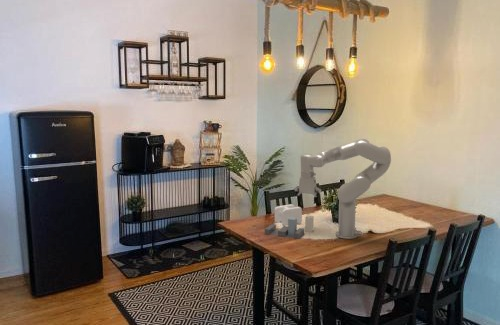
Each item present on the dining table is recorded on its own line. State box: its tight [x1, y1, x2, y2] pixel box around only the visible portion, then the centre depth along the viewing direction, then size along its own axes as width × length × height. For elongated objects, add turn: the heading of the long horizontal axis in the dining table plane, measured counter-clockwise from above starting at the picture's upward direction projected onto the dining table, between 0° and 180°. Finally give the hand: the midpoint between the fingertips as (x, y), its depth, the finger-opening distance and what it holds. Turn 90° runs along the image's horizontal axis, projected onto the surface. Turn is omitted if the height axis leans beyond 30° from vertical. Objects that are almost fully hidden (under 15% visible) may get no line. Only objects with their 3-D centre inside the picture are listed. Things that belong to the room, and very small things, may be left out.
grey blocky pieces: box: [263, 224, 306, 240], centre depth 235 cm, size 23×10×4 cm, turn 64°
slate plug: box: [287, 217, 298, 236], centre depth 232 cm, size 4×4×10 cm
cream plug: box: [304, 214, 315, 233], centre depth 239 cm, size 4×4×10 cm
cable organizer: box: [274, 203, 303, 226], centre depth 256 cm, size 15×11×12 cm
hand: (307, 202), depth 237 cm, fingers open, 9 cm apart
